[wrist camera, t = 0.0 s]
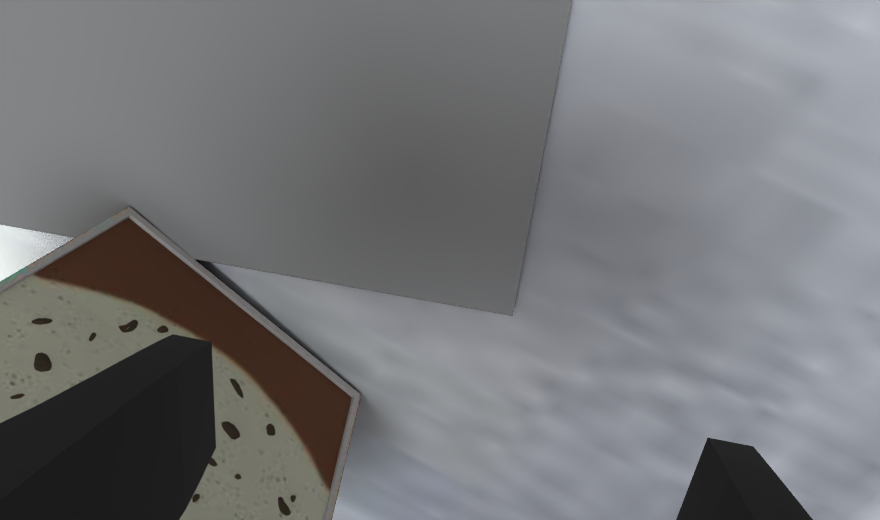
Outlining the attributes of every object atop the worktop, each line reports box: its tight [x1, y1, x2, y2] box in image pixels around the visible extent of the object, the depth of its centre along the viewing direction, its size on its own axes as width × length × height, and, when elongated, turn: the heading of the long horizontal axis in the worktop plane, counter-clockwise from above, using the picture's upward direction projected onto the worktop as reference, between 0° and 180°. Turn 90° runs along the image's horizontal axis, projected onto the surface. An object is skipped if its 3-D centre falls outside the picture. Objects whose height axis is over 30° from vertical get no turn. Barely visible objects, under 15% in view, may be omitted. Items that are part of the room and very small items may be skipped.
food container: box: [0, 207, 361, 520], centre depth 19 cm, size 12×6×10 cm, turn 46°
